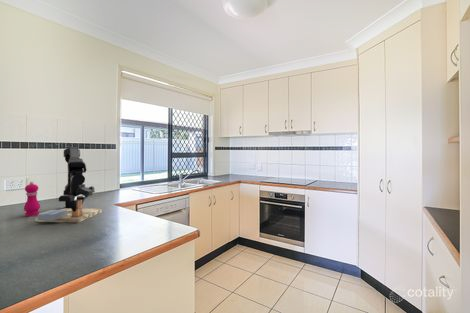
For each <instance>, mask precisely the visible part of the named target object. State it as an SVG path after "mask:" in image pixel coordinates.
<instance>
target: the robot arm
mask: <svg viewBox="0 0 470 313" xmlns="http://www.w3.org/2000/svg"><path fill="white" fill-rule="evenodd" d="M80 157H81V150H80V148H79V147H77V146H69V147H67V148H65V149H63V158H64V160H65V162H66V163H67V184H66V185H65V186H64V190H63V194H62V195H60V196H59V197H58V202H64V204H65V205H64V207H63V209H64V208H67V209H72V210H73V212H76V203H77V201H78V200H79V199H80V200H82V205H83V204H84V201H85V200H86V199H87V198H90V197H91V196H93V194H94V193H95V192H96V191H95V187H94V186H93V185H92V186H89V187H86V184H85V182H86V178H85V176H84V175H83V173H84V174H85V173H86V171H87V165H86V163H85V162H84V160H83V158H80Z"/></svg>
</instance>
